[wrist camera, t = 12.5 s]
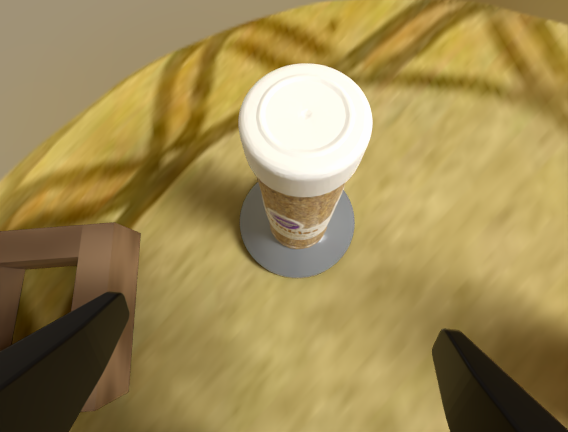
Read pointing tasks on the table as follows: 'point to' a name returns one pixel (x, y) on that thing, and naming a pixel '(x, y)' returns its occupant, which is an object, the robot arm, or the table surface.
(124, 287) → the walnut caddy
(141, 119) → the table surface
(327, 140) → the sprinkles bottle
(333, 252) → the slate coaster
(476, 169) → the table surface
